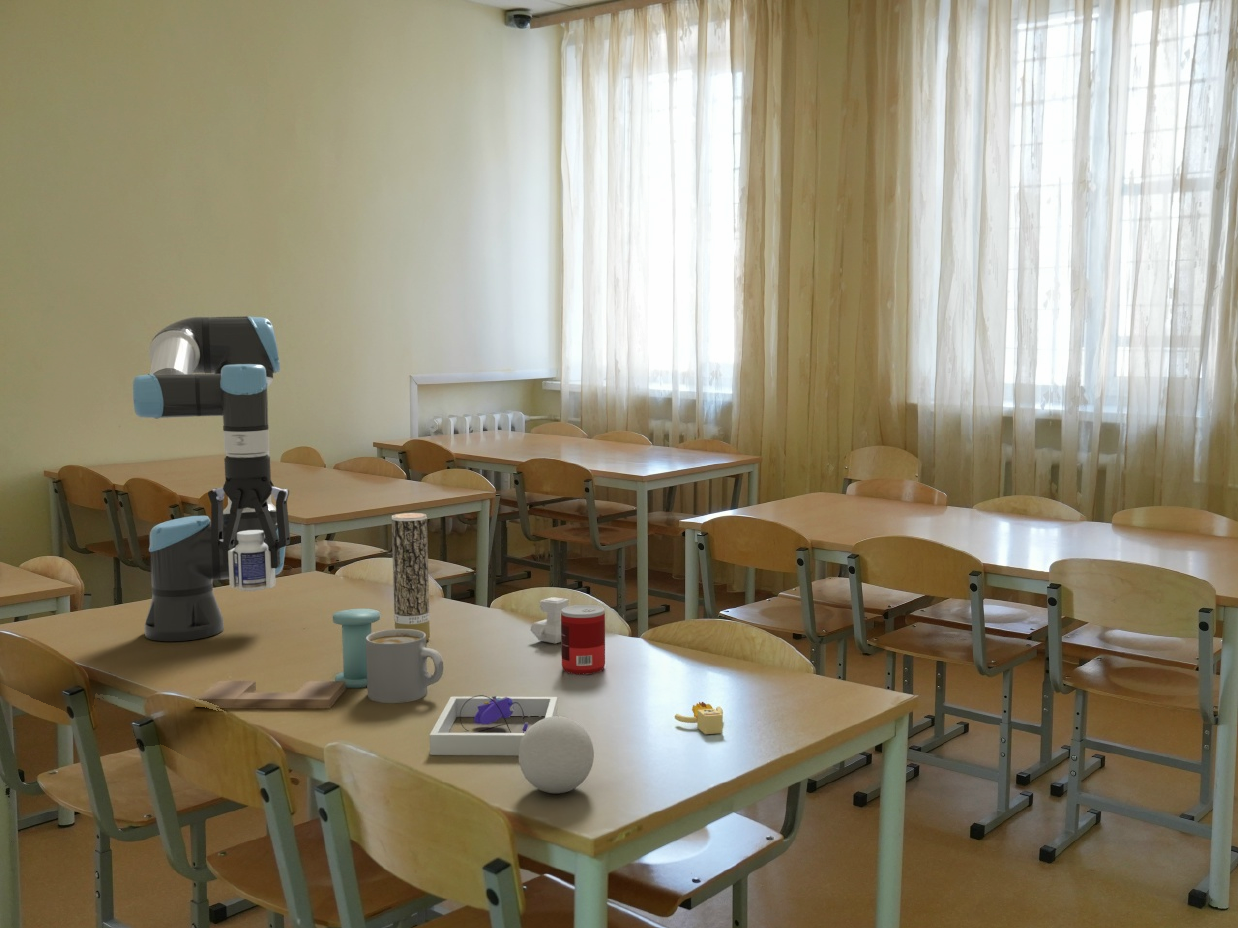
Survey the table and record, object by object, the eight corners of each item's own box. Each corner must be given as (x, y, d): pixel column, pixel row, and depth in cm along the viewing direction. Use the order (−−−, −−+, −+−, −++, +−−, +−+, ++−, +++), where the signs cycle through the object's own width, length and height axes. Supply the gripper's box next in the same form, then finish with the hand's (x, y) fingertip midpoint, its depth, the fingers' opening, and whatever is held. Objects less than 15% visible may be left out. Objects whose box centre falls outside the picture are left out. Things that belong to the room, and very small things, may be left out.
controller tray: (430, 754, 173) (429, 734, 173) (451, 714, 191) (451, 696, 191) (547, 755, 173) (546, 735, 172) (557, 715, 191) (557, 696, 190)
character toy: (719, 696, 189) (737, 711, 182) (719, 716, 189) (737, 732, 182) (671, 701, 187) (687, 716, 179) (671, 721, 187) (687, 737, 180)
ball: (557, 811, 153) (556, 736, 152) (503, 792, 159) (502, 719, 158) (609, 789, 160) (609, 716, 159) (556, 770, 167) (555, 701, 166)
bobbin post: (329, 687, 206) (327, 619, 204) (341, 674, 214) (339, 608, 212) (375, 687, 206) (373, 619, 204) (386, 674, 214) (384, 608, 212)
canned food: (614, 667, 217) (613, 608, 215) (582, 677, 211) (582, 616, 210) (583, 660, 222) (583, 602, 221) (552, 669, 216) (551, 609, 215)
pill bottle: (277, 586, 210) (274, 530, 209) (254, 593, 205) (252, 536, 204) (251, 582, 213) (249, 527, 211) (228, 589, 207) (226, 533, 206)
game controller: (452, 701, 186) (513, 682, 189) (467, 752, 185) (528, 732, 188) (460, 701, 177) (524, 681, 180) (475, 755, 176) (539, 734, 179)
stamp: (555, 633, 241) (554, 592, 240) (581, 638, 237) (581, 597, 236) (526, 643, 234) (525, 601, 233) (552, 648, 230) (552, 605, 229)
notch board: (196, 707, 196) (195, 698, 195) (218, 689, 206) (218, 680, 205) (329, 708, 195) (329, 699, 195) (345, 689, 205) (345, 681, 205)
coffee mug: (355, 697, 201) (353, 639, 199) (394, 681, 209) (392, 626, 208) (417, 709, 194) (415, 649, 193) (455, 693, 202) (454, 635, 201)
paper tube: (433, 636, 239) (430, 513, 237) (425, 645, 233) (421, 518, 230) (400, 635, 240) (397, 512, 237) (390, 644, 233) (387, 518, 230)
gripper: (184, 457, 202) (191, 590, 205) (294, 457, 202) (299, 591, 205) (201, 451, 210) (207, 581, 213) (307, 451, 209) (312, 581, 212)
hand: (252, 585), depth 209 cm, fingers closed on pill bottle, 6 cm apart
